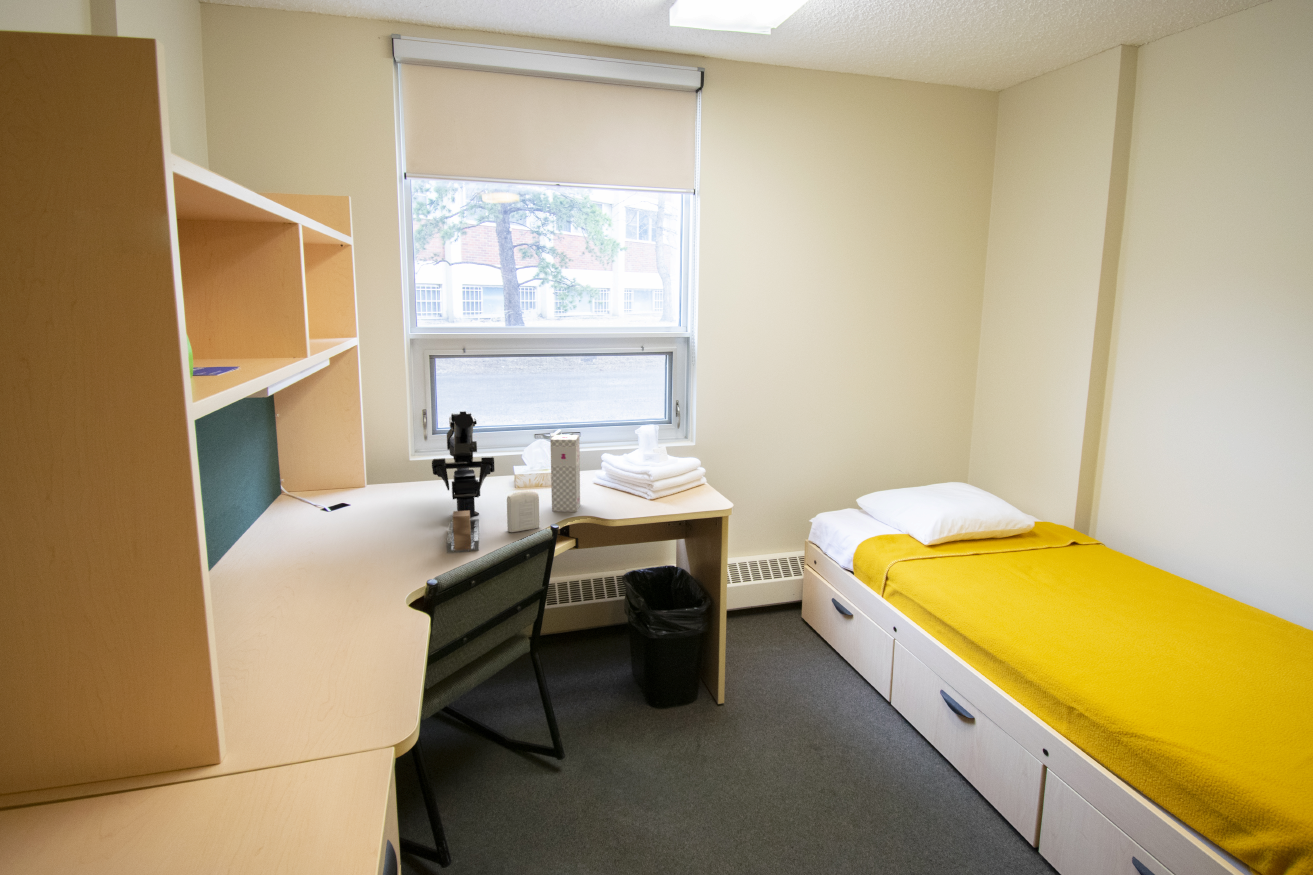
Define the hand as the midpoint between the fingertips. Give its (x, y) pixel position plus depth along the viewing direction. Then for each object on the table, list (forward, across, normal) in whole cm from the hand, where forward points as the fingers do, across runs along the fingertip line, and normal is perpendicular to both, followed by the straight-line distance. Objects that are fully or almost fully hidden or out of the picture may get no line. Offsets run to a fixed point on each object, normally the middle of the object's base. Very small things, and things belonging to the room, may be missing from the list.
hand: (464, 489), depth 210 cm
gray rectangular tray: (+15, 0, +4) cm, 16 cm away
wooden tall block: (+20, 0, -2) cm, 20 cm away
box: (-3, +33, +22) cm, 40 cm away
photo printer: (+11, +18, +8) cm, 22 cm away
